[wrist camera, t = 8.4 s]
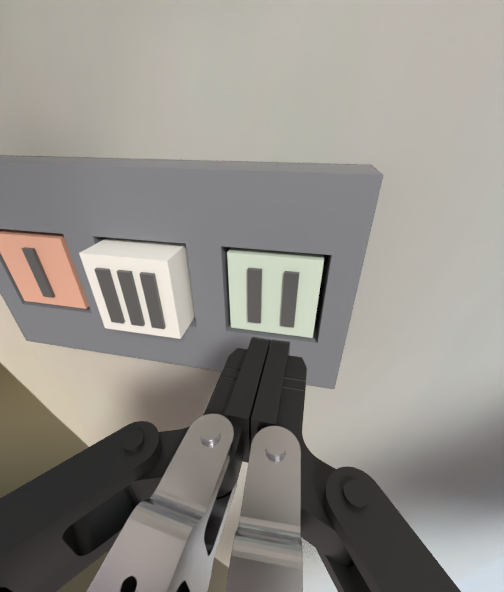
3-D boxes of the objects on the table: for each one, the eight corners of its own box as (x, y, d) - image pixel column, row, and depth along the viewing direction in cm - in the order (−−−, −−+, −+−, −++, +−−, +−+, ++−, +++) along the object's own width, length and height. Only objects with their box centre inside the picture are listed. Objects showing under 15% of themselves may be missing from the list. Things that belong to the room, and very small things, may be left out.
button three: (192, 238, 15) (165, 262, 13) (200, 308, 18) (179, 341, 15) (116, 232, 16) (75, 254, 13) (134, 300, 19) (102, 330, 16)
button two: (323, 238, 15) (324, 262, 13) (313, 307, 18) (312, 340, 15) (241, 232, 16) (225, 254, 14) (242, 299, 19) (229, 329, 16)
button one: (96, 222, 18) (57, 240, 15) (115, 285, 20) (83, 310, 18) (34, 218, 19) (-13, 234, 16) (59, 279, 21) (21, 302, 18)
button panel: (371, 164, 13) (383, 174, 11) (332, 355, 19) (334, 389, 17) (-14, 155, 17) (-73, 160, 14) (58, 317, 23) (26, 340, 21)
